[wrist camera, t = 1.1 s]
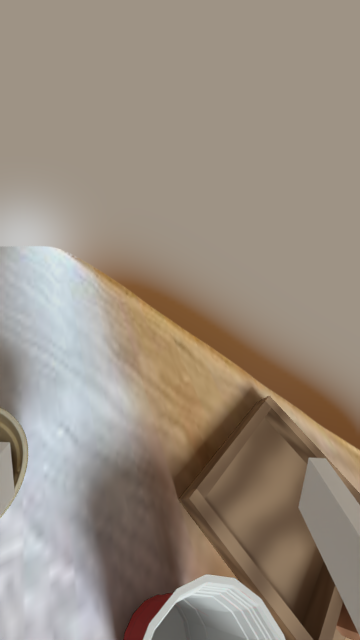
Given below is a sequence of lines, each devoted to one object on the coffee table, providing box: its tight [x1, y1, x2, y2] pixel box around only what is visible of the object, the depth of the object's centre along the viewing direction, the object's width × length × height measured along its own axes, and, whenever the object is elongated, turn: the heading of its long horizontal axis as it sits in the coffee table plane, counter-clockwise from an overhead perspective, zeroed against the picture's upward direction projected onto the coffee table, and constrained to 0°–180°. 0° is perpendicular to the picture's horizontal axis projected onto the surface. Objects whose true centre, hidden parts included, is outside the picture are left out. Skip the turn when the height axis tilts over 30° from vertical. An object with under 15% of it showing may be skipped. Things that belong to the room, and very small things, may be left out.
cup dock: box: [179, 396, 360, 640], centre depth 29 cm, size 21×17×8 cm
